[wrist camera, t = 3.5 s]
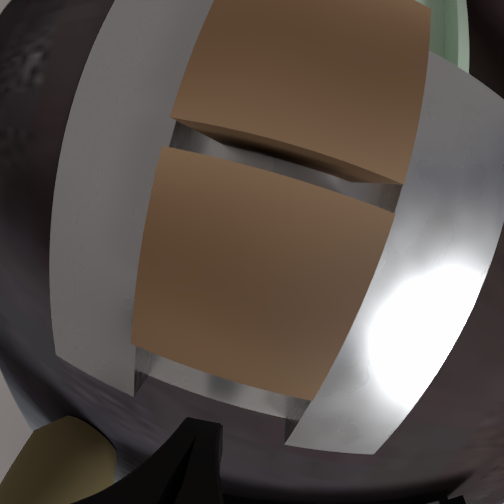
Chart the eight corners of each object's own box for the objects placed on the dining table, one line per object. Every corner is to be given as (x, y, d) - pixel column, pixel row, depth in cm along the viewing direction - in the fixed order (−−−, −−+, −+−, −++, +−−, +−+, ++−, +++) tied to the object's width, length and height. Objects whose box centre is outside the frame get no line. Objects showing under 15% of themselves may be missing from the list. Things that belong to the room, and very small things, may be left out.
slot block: (357, 390, 13) (373, 454, 9) (107, 313, 14) (56, 354, 9) (457, 127, 9) (519, 113, 5) (163, 42, 10) (116, -2, 6)
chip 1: (351, 182, 8) (404, 184, 4) (221, 144, 8) (169, 117, 4) (379, 68, 7) (431, 8, 3) (257, 33, 7) (237, -44, 3)
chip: (305, 317, 9) (312, 401, 5) (188, 281, 9) (130, 343, 5) (346, 198, 8) (395, 213, 4) (217, 160, 8) (161, 145, 4)
